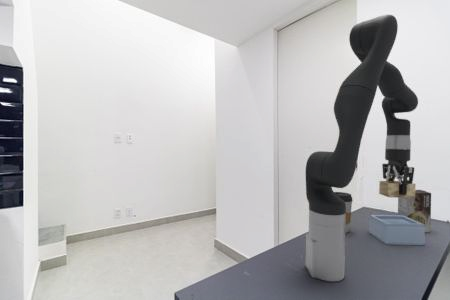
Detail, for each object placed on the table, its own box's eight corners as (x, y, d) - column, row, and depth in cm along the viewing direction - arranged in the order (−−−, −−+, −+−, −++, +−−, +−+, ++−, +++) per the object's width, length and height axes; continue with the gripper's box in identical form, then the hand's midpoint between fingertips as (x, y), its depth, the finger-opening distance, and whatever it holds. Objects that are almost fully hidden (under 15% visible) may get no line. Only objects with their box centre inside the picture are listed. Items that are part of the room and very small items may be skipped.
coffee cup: (328, 231, 94) (329, 194, 94) (329, 225, 102) (330, 190, 101) (351, 235, 90) (352, 197, 90) (351, 228, 98) (352, 193, 97)
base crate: (386, 244, 83) (386, 224, 83) (368, 232, 94) (368, 214, 94) (424, 245, 83) (425, 225, 82) (402, 233, 94) (402, 215, 93)
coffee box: (419, 227, 101) (420, 189, 100) (430, 232, 94) (432, 192, 94) (396, 226, 101) (397, 188, 101) (406, 231, 95) (407, 192, 94)
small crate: (389, 197, 85) (389, 183, 85) (379, 193, 91) (379, 180, 91) (415, 197, 85) (415, 183, 84) (403, 194, 91) (403, 181, 90)
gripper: (375, 147, 95) (374, 189, 95) (400, 148, 80) (399, 197, 81) (394, 147, 94) (393, 189, 95) (423, 148, 80) (421, 197, 80)
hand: (396, 192), depth 88 cm, fingers closed on small crate, 6 cm apart
